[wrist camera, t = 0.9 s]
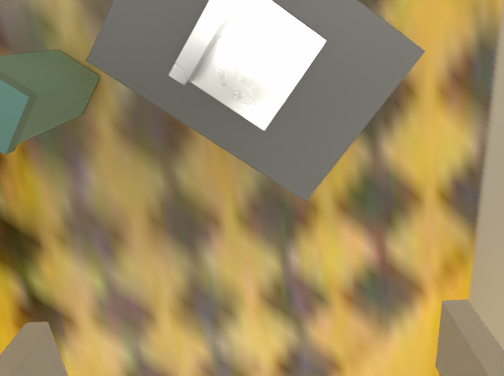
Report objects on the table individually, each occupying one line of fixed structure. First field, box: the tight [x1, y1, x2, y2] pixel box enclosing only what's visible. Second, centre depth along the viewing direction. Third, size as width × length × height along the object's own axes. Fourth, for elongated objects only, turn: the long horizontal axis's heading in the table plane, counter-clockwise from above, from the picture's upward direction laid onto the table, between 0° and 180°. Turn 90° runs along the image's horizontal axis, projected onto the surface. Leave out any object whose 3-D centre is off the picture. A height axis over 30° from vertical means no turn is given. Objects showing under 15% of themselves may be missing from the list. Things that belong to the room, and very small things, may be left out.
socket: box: [86, 0, 425, 201], centre depth 30 cm, size 20×14×4 cm
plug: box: [0, 50, 100, 155], centre depth 29 cm, size 4×4×11 cm
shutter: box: [169, 0, 326, 131], centre depth 26 cm, size 8×8×4 cm
